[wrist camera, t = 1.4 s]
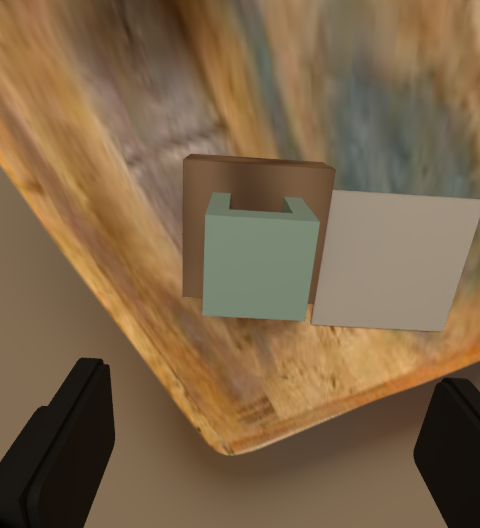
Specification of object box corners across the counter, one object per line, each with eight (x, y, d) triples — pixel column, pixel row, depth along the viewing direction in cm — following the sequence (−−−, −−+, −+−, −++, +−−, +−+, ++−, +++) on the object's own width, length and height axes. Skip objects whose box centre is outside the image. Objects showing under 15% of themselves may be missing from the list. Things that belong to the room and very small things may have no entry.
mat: (481, 199, 29) (485, 200, 28) (440, 329, 33) (442, 331, 33) (331, 189, 28) (332, 190, 28) (310, 322, 33) (311, 324, 32)
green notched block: (301, 197, 24) (320, 221, 19) (291, 278, 27) (304, 321, 21) (212, 192, 24) (205, 214, 19) (210, 273, 27) (202, 315, 21)
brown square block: (322, 162, 27) (335, 169, 24) (305, 281, 31) (314, 303, 28) (190, 153, 27) (183, 159, 24) (189, 275, 31) (182, 296, 27)
